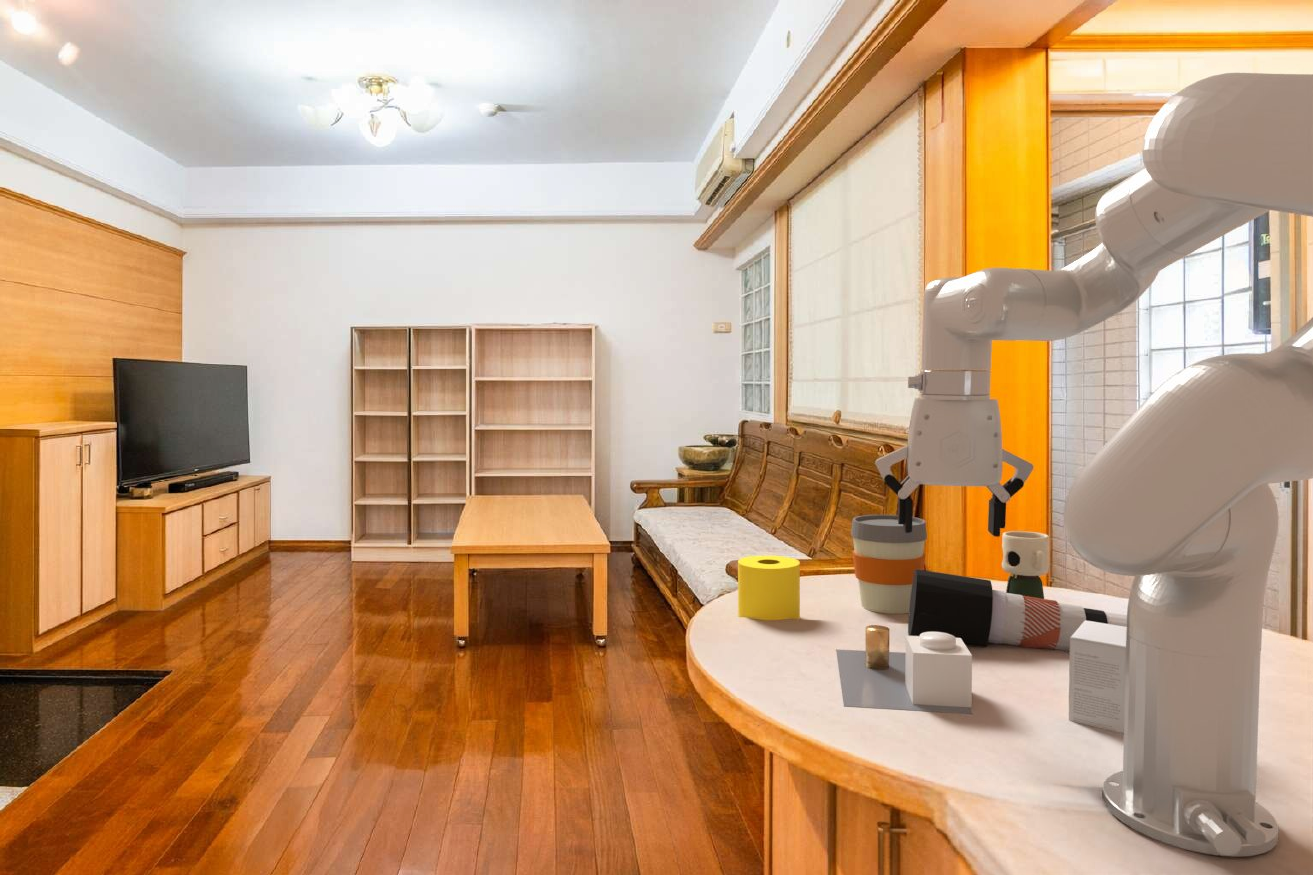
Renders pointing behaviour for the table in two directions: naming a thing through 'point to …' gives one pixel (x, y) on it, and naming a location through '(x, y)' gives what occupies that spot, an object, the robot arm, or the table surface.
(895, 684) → the plate
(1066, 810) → the table surface
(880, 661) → the brass cylinder
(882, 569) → the reusable coffee cup
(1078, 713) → the small box
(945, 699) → the white push button box
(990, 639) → the black and white bottle
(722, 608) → the table surface
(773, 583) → the yellow toilet paper roll
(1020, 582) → the character mug
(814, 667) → the table surface
